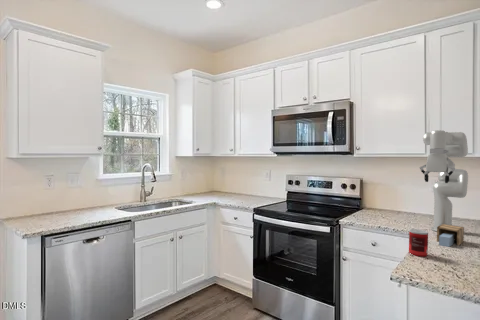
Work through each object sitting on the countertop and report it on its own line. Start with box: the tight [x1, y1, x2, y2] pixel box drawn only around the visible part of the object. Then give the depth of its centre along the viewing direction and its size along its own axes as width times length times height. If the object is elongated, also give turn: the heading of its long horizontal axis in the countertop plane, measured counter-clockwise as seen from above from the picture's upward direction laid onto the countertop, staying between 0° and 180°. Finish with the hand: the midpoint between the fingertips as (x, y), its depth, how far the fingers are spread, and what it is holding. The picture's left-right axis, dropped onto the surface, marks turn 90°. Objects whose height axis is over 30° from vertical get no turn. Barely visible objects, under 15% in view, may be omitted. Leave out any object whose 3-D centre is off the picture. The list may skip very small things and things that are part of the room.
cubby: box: [436, 224, 465, 246], centre depth 166 cm, size 12×10×8 cm
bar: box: [438, 233, 455, 248], centre depth 160 cm, size 12×4×5 cm, turn 134°
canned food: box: [408, 228, 429, 258], centre depth 141 cm, size 8×8×11 cm
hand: (436, 182), depth 169 cm, fingers open, 9 cm apart
